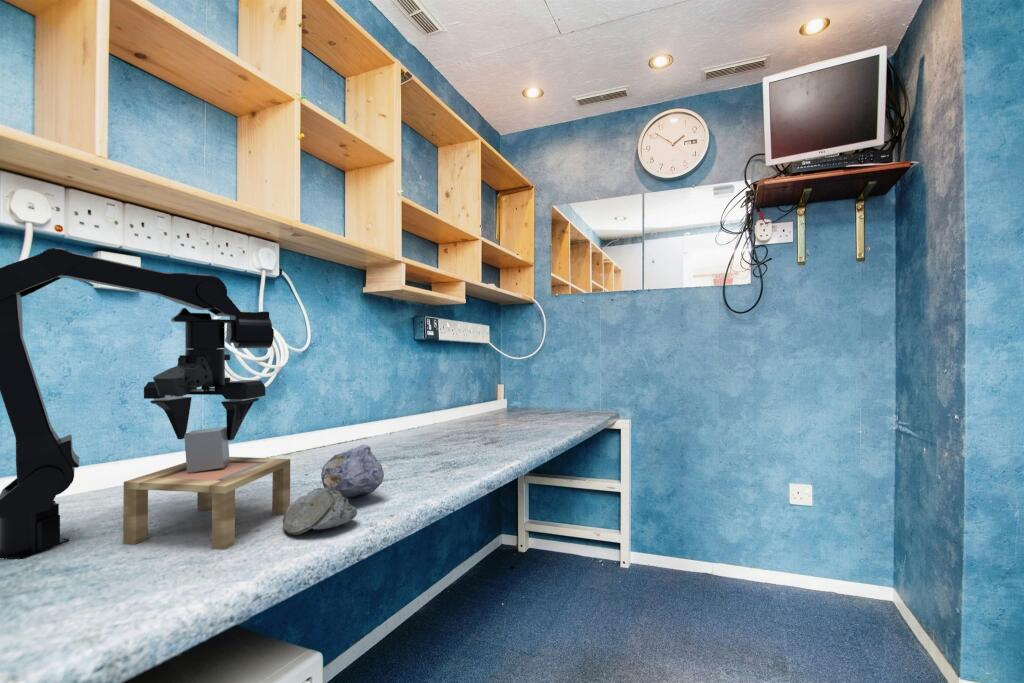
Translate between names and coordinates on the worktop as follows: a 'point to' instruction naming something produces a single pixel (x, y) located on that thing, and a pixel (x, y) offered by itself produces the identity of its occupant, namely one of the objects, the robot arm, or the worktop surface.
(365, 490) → the rock
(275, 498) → the trapdoor frame
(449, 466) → the worktop surface
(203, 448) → the grey block
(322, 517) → the fossilized seashell
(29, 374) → the robot arm
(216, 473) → the trapdoor
